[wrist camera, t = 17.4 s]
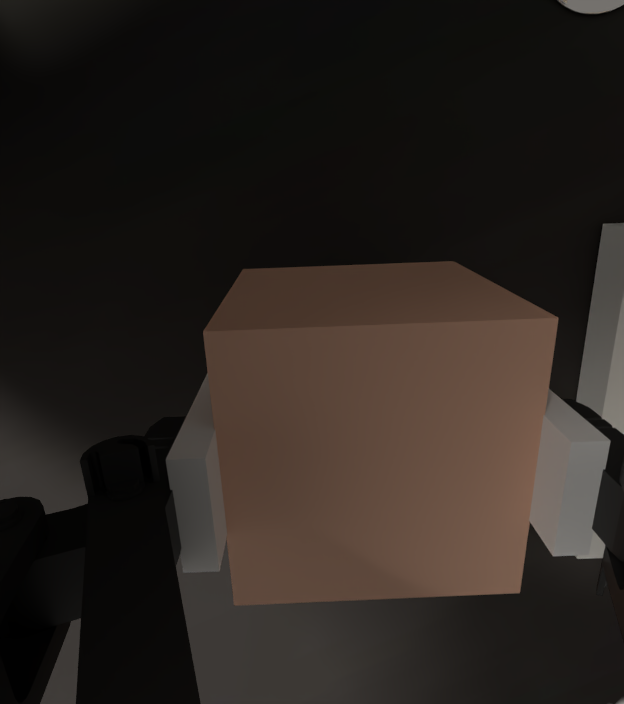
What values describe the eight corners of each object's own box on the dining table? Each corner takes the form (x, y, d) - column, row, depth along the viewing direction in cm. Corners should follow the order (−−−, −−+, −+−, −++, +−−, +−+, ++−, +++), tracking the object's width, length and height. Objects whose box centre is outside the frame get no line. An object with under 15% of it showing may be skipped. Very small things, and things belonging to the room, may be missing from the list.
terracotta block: (242, 268, 16) (203, 331, 10) (453, 261, 16) (558, 317, 10) (258, 453, 18) (234, 605, 12) (442, 445, 19) (519, 593, 12)
